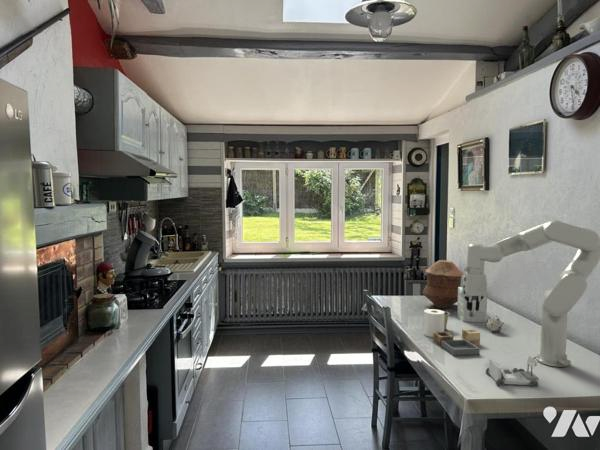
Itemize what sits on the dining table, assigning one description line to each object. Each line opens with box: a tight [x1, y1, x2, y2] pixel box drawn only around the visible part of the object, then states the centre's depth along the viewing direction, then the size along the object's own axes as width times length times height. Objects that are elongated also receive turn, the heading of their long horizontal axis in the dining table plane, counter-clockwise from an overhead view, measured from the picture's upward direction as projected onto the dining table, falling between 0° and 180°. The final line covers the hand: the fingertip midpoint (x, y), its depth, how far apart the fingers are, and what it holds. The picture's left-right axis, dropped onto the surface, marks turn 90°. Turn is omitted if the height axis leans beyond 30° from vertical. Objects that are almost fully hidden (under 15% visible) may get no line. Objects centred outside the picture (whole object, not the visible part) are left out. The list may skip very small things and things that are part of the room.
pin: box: [469, 296, 477, 317], centre depth 204 cm, size 3×3×10 cm
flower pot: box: [443, 310, 451, 331], centre depth 237 cm, size 9×9×9 cm
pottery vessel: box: [422, 259, 465, 309], centre depth 284 cm, size 26×26×30 cm
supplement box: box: [456, 286, 488, 323], centre depth 256 cm, size 13×13×18 cm
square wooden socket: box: [432, 331, 454, 347], centre depth 213 cm, size 7×7×4 cm
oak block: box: [461, 328, 481, 346], centre depth 214 cm, size 6×6×6 cm
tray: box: [440, 339, 481, 357], centre depth 203 cm, size 12×12×3 cm
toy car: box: [485, 355, 539, 388], centre depth 171 cm, size 18×10×12 cm
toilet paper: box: [423, 308, 445, 338], centre depth 227 cm, size 10×10×12 cm
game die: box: [484, 315, 504, 333], centre depth 233 cm, size 9×8×10 cm
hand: (472, 309), depth 204 cm, fingers closed on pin, 2 cm apart
